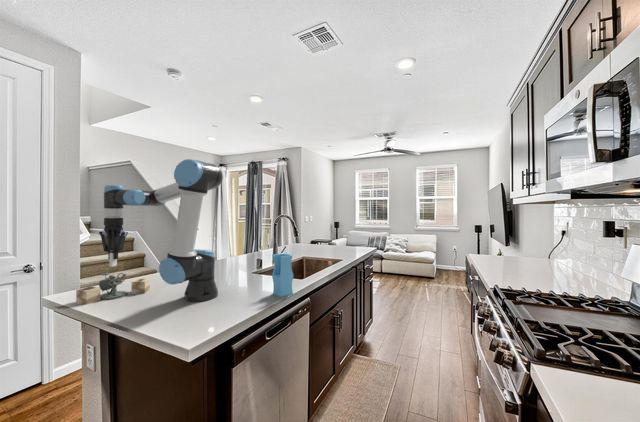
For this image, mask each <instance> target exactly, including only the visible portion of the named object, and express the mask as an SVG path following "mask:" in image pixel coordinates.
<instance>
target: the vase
mask: <svg viewBox="0 0 640 422" xmlns="http://www.w3.org/2000/svg"><path fill="white" fill-rule="evenodd" d="M293 256H294V255H293V254H290V253H283V252H282V253H276V254H275V253H274V254H272V258H273V263H274V268H273V271H272V273H271V276H272V277H271V278H272V282H273V292H272V295H275V296H276V297H279V298H283V297H287V296H292V295H294V291H293V280H294V276H295V275H294V272H293V268H292V261H293V260H292V259H293Z"/></svg>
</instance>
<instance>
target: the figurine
mask: <svg viewBox="0 0 640 422" xmlns="http://www.w3.org/2000/svg"><path fill="white" fill-rule="evenodd" d="M108 275H109V276H108ZM119 275H122V276H121V277H120V276H119ZM101 276H104V277H105V278H104V279H102V280H100V281H99V282H98V287H100V291H102V292H104V293H102V294H100V301H111V300H116V299H120V298H123V297H124V298H125V297H126V296H127V295H128V292H127V291H125V290H118V289H117V286H119V285H122V284H123V282H125V281H126V280H125V279H124V278H125V277H126V276H127V273H123V272H119V273H118V274H117V276H115V275H113V274H111V275H110V272H103V273H101ZM107 276H108V277H107ZM109 290H110V291H109ZM105 291H106V292H105Z"/></svg>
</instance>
